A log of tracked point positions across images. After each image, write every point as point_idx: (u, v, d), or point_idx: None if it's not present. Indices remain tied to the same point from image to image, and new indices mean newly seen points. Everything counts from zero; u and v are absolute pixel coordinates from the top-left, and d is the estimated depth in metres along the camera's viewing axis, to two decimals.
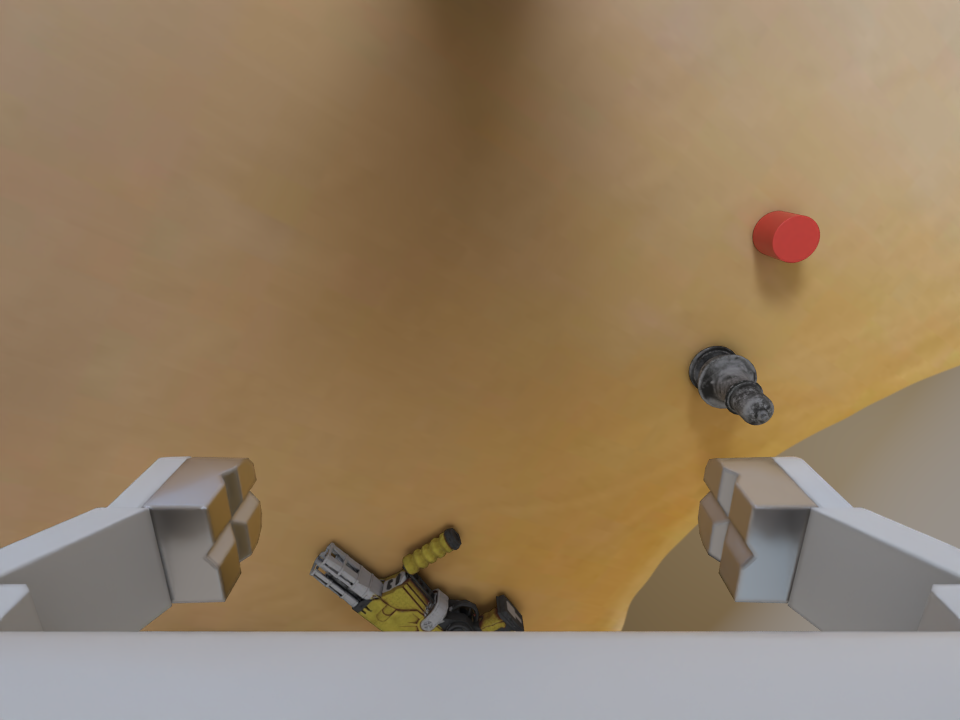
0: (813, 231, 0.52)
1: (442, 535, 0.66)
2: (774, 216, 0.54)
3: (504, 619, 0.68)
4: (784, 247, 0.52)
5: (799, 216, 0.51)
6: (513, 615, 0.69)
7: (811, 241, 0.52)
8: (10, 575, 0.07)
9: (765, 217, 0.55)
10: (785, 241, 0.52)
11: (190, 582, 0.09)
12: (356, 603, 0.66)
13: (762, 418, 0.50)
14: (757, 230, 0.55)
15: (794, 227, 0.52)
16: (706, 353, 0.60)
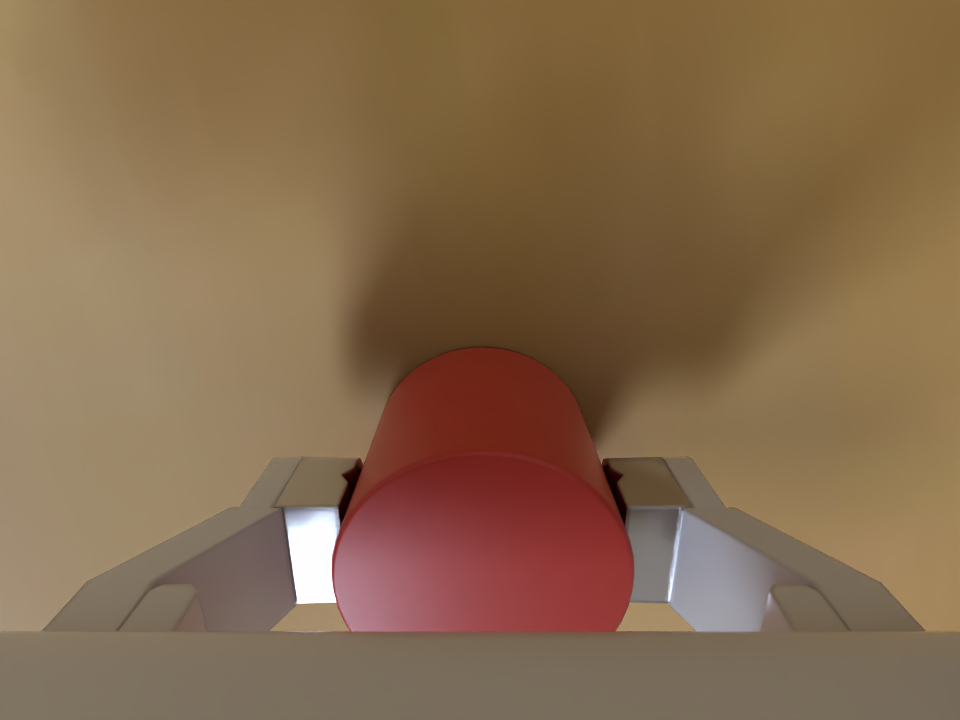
0: (373, 555, 0.08)
1: None
2: None
3: None
4: (566, 594, 0.08)
5: None
6: None
7: (418, 517, 0.08)
8: (170, 575, 0.07)
9: None
10: (537, 618, 0.08)
11: (315, 582, 0.09)
12: None
13: None
14: None
15: None
16: None
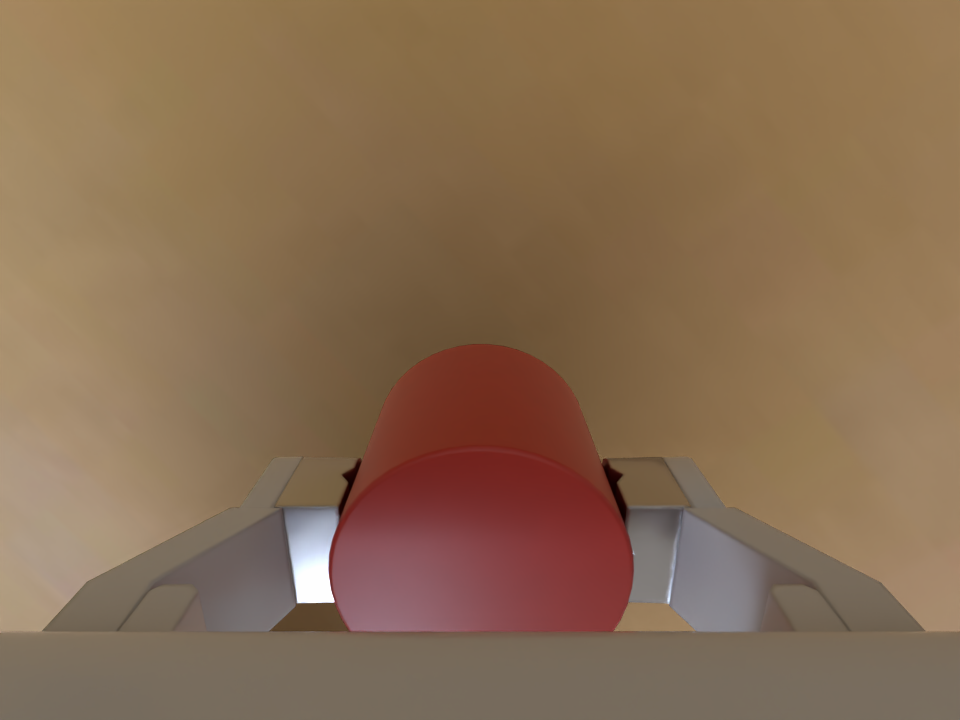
0: (370, 552, 0.08)
1: None
2: None
3: None
4: (565, 591, 0.08)
5: None
6: None
7: (416, 514, 0.08)
8: (170, 575, 0.07)
9: None
10: (536, 616, 0.08)
11: (315, 582, 0.09)
12: None
13: None
14: None
15: None
16: None
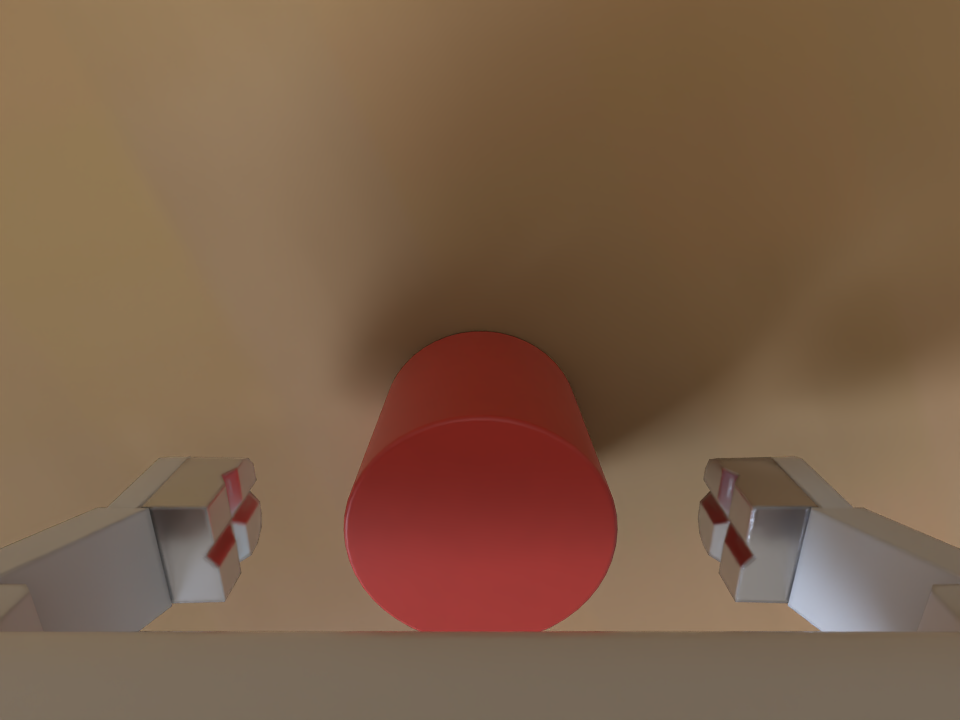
0: (381, 512, 0.09)
1: None
2: None
3: None
4: (555, 547, 0.09)
5: (395, 614, 0.09)
6: None
7: (422, 477, 0.08)
8: (10, 575, 0.07)
9: None
10: (530, 571, 0.09)
11: (190, 582, 0.09)
12: None
13: None
14: None
15: (448, 592, 0.09)
16: None
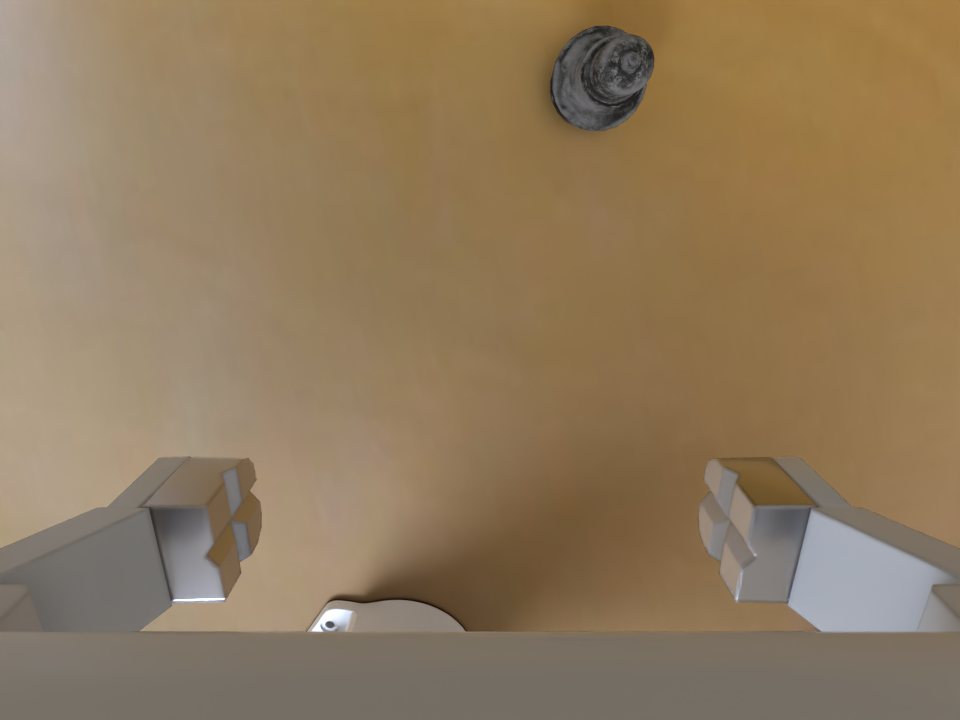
0: None
1: None
2: None
3: None
4: None
5: None
6: None
7: None
8: (10, 575, 0.07)
9: None
10: None
11: (190, 582, 0.09)
12: None
13: (637, 63, 0.27)
14: None
15: None
16: None
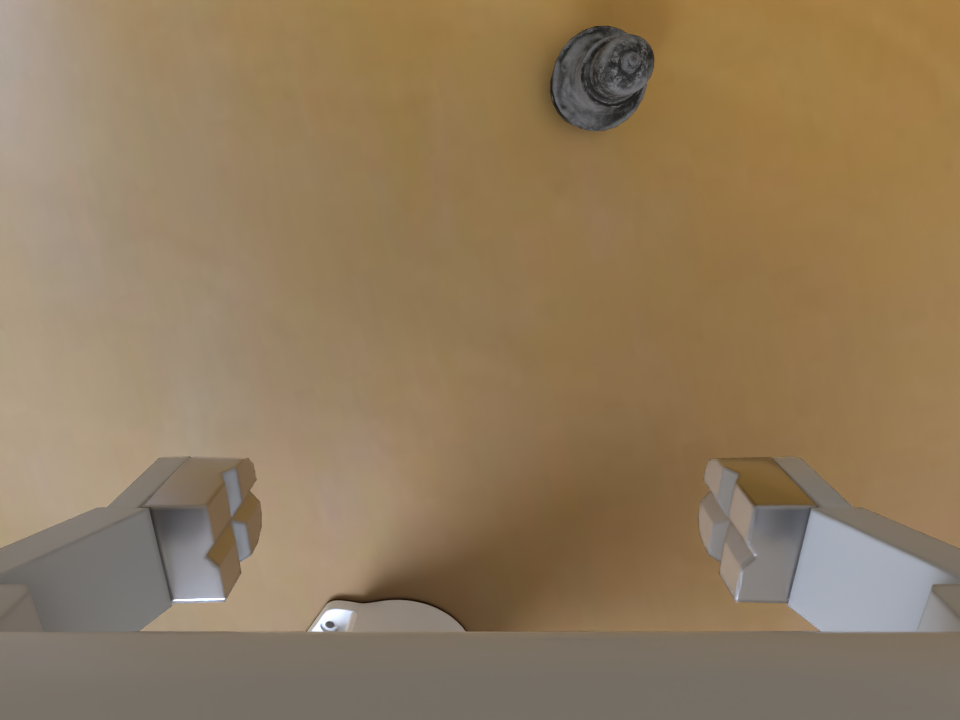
0: None
1: None
2: None
3: None
4: None
5: None
6: None
7: None
8: (10, 575, 0.07)
9: None
10: None
11: (190, 582, 0.09)
12: None
13: (637, 63, 0.27)
14: None
15: None
16: None
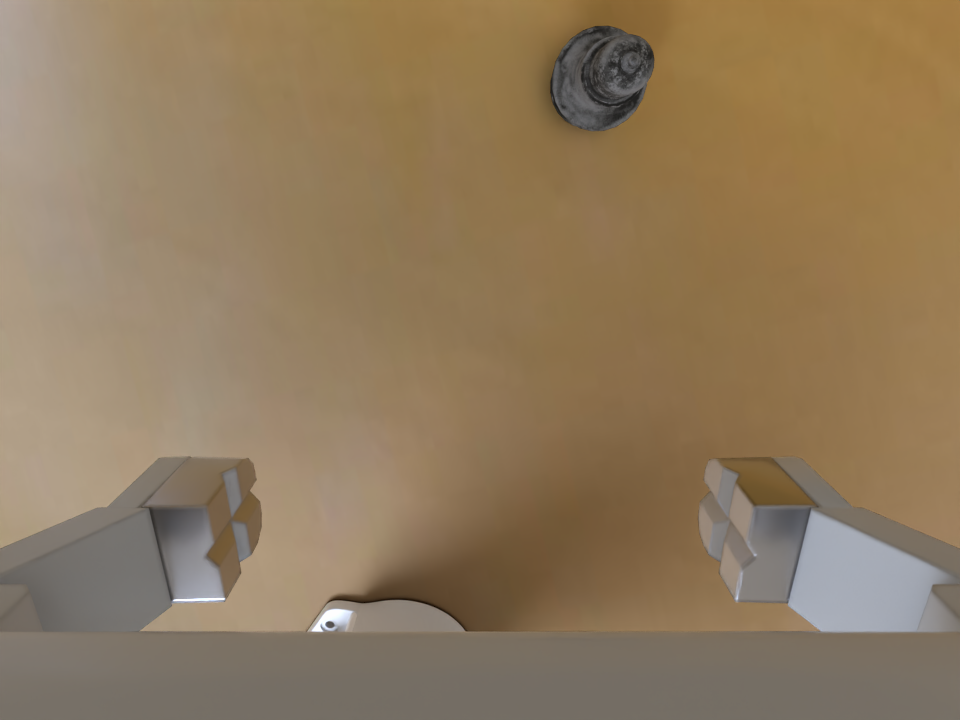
0: None
1: None
2: None
3: None
4: None
5: None
6: None
7: None
8: (10, 575, 0.07)
9: None
10: None
11: (190, 582, 0.09)
12: None
13: (637, 63, 0.27)
14: None
15: None
16: None
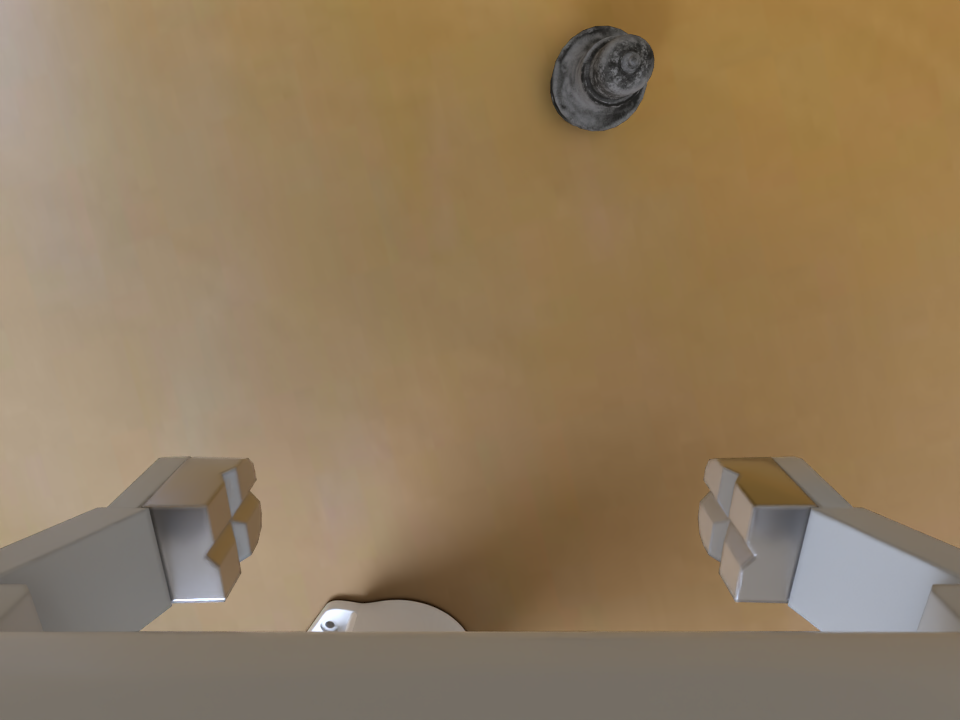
0: None
1: None
2: None
3: None
4: None
5: None
6: None
7: None
8: (10, 575, 0.07)
9: None
10: None
11: (190, 582, 0.09)
12: None
13: (637, 63, 0.27)
14: None
15: None
16: None
